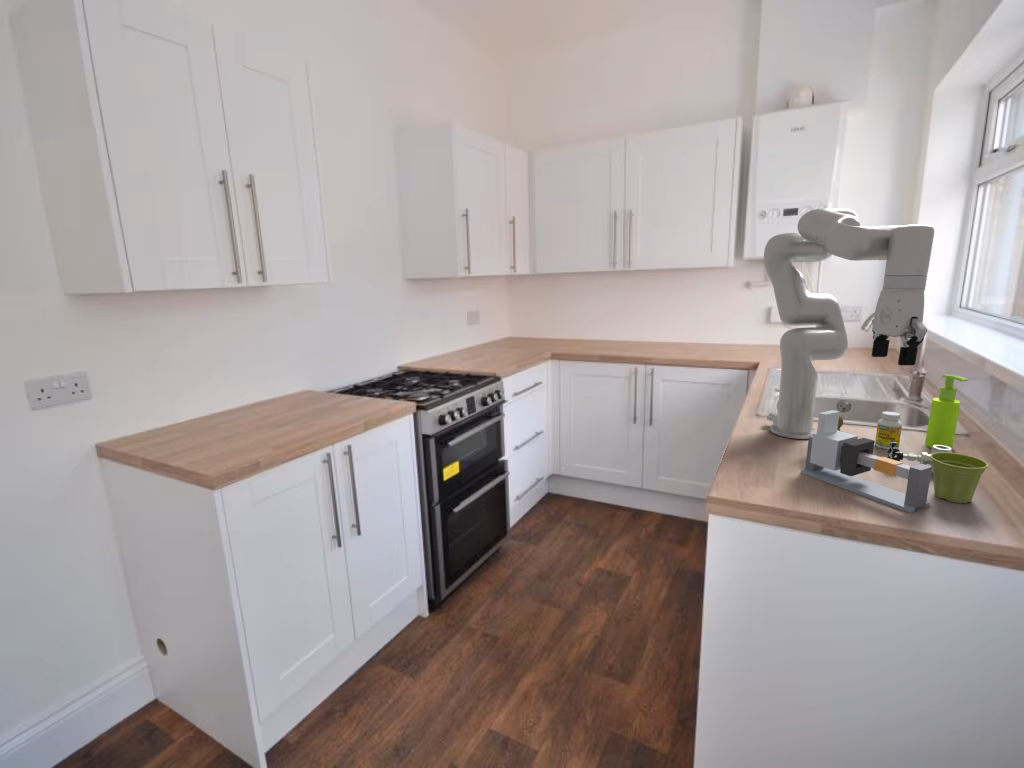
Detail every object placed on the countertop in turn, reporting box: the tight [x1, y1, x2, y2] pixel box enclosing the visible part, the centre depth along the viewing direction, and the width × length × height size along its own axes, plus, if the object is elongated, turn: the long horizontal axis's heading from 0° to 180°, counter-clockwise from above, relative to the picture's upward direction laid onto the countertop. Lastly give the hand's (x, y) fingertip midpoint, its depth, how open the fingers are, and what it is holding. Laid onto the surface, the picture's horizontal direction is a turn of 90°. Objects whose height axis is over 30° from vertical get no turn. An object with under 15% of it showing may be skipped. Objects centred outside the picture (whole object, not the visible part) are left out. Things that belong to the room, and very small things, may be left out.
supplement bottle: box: [874, 411, 903, 450], centre depth 141 cm, size 5×5×10 cm
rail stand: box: [800, 436, 932, 514], centre depth 116 cm, size 24×7×9 cm, turn 25°
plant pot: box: [930, 452, 989, 504], centre depth 110 cm, size 9×9×9 cm
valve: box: [886, 442, 953, 475], centre depth 125 cm, size 7×7×12 cm
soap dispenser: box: [924, 374, 969, 450], centre depth 138 cm, size 6×7×20 cm
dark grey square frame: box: [839, 437, 875, 476], centre depth 116 cm, size 2×7×7 cm, turn 115°
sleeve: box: [810, 409, 859, 471], centre depth 121 cm, size 6×7×12 cm
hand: (892, 360), depth 117 cm, fingers open, 9 cm apart
